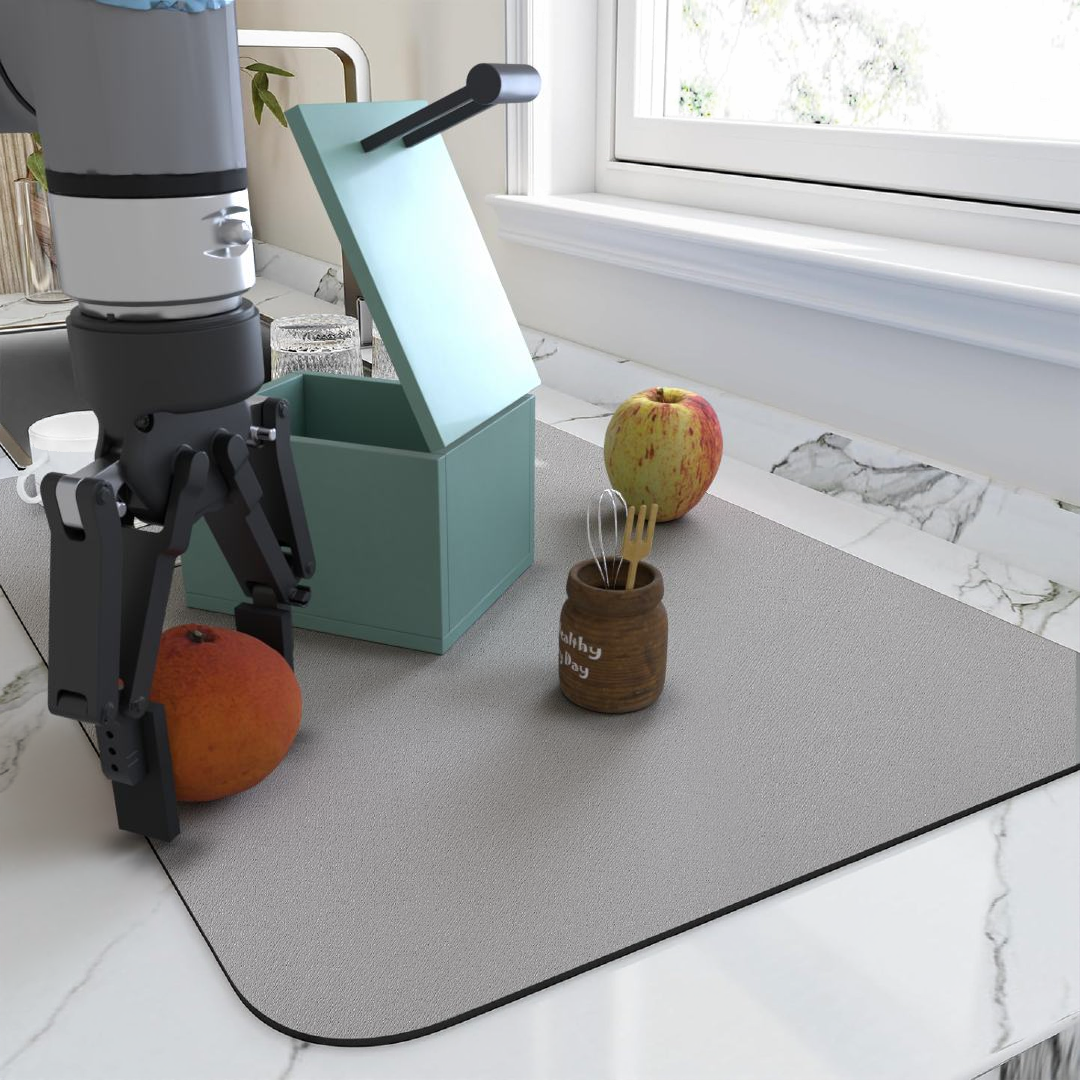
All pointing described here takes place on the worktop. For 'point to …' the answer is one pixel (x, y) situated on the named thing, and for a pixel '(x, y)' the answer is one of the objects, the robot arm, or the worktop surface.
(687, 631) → the worktop surface
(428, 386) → the lid
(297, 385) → the teal storage box
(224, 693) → the fruit
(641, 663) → the utensil holder
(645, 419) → the apple
